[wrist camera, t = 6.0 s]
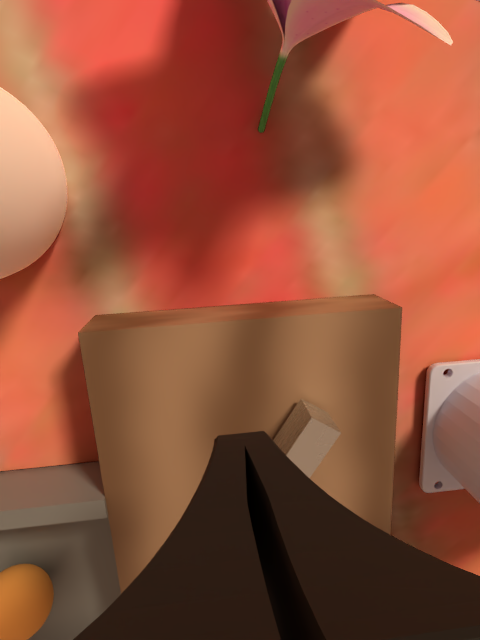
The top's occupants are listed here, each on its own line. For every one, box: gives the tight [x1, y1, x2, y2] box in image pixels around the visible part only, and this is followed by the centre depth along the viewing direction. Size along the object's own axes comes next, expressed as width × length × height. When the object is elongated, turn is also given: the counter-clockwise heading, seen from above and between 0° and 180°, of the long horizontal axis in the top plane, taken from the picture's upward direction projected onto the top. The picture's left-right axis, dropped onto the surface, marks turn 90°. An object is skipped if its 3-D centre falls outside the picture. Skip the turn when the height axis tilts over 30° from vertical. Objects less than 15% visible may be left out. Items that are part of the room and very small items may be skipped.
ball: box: [0, 564, 54, 640], centre depth 21 cm, size 4×4×4 cm
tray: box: [0, 461, 121, 640], centre depth 22 cm, size 10×14×3 cm
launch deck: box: [78, 294, 402, 593], centre depth 21 cm, size 14×20×3 cm
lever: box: [273, 399, 341, 478], centre depth 19 cm, size 3×15×2 cm, turn 150°
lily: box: [258, 0, 480, 133], centre depth 14 cm, size 12×12×10 cm
